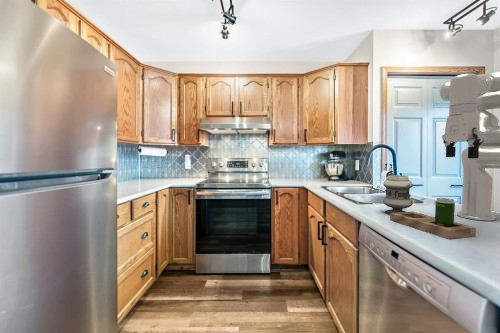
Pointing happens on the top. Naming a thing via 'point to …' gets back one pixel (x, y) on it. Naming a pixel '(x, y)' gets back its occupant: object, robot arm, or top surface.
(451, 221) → the beer can
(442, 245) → the top surface
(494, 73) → the robot arm
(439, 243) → the top surface
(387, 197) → the apothecary jar
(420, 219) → the can rack
